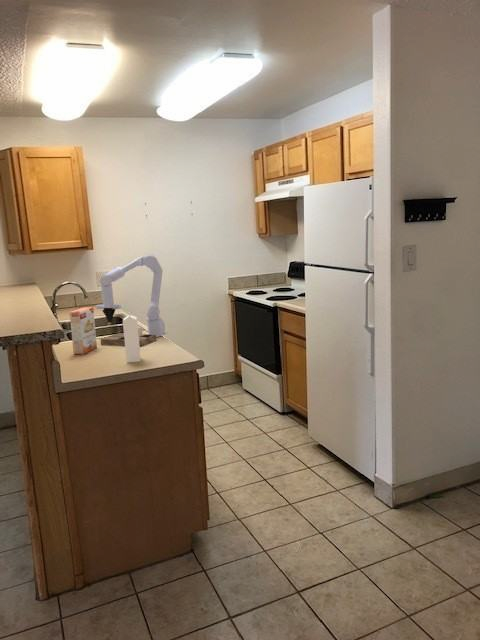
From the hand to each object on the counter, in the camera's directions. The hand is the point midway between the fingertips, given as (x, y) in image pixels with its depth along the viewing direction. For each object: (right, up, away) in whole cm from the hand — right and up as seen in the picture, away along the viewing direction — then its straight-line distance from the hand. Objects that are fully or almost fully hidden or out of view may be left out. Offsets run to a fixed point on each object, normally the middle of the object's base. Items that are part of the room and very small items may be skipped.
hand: (110, 322), depth 286 cm
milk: (+22, -17, -48) cm, 55 cm away
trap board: (+12, -11, -9) cm, 19 cm away
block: (+16, -7, -8) cm, 19 cm away
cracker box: (-6, -14, -23) cm, 28 cm away
